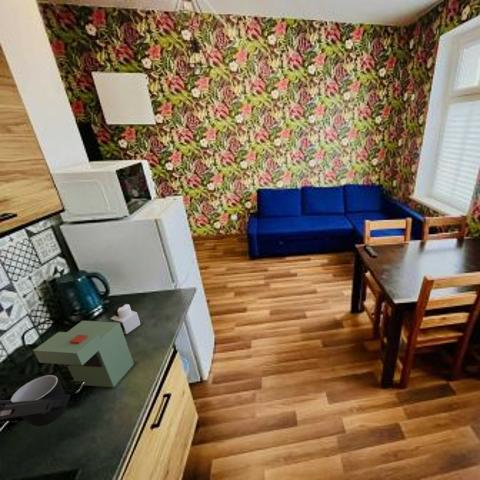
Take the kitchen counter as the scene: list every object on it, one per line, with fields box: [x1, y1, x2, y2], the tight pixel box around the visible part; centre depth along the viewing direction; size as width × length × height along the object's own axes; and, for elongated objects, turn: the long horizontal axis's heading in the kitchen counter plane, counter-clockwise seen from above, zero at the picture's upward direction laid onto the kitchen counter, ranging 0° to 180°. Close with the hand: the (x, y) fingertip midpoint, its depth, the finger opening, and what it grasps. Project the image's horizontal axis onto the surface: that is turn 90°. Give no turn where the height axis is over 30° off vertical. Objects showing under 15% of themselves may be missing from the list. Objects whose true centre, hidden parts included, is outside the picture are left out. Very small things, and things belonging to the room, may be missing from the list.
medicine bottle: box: [110, 302, 141, 335], centre depth 118 cm, size 7×7×12 cm
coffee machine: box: [32, 320, 135, 388], centre depth 91 cm, size 14×16×23 cm
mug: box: [3, 374, 67, 427], centre depth 71 cm, size 12×9×10 cm
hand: (49, 398), depth 74 cm, fingers closed on mug, 10 cm apart
